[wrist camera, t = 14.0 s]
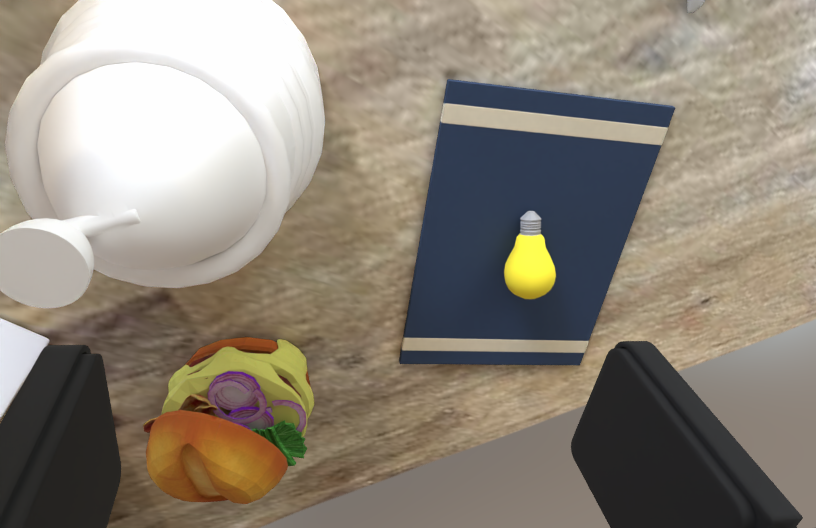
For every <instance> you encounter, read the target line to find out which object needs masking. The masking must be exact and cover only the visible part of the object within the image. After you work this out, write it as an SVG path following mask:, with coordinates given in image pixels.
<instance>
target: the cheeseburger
mask: <svg viewBox="0 0 816 528" xmlns="http://www.w3.org/2000/svg"><path fill="white" fill-rule="evenodd" d="M168 390H169V394H168V396H167V398H166V400H165V402H164V406H163V409H162V415H161V416H159V417H157V418H153V419H150V420H149V421H147V422H146V423H145V424H144V425H143V427H144V432H147V433H149V432H150V437H149V441H148V445H147V450H146V458H147V469H148V472H149V475H150V478H151V479H152V480H153V481H154V483H155V484H156V485H157V486H158V487H159V488H160V489H161V490H162V491H163V492H165V493H167V494H169V495H171V496H172V497H174V498H177V499H180V500H183V501H189V502H214V501H224V500H230V501H232V502H233V503H240V504H248V503H251V502H253V501H256V500H258V499H260V498H262V497H263V496H264V495H266V494H267V493H268V492H269V491H270V490H271V489H273V488H274V487H275V486H276V485H277V484H278V483H279V481H280V480H281V478H282V477H283V475H284V474H285V472H286V470H287V467H288V466H294V465H295V464H296V462H295V461H294V459H293V458H292V456H293V457H299V458H304V454H305V452H306V450H307V447H306V446H305V445H304V444H303V443H304V441H305V438H303V437H304V435H305V432H306V429H307V419H308V417H309V416H310V414H311V412H312V409H313V406H314V397H313V392H312V390H311V387H310V382H309V376H308V372H307V363H306V358H305V356H304V355H303V354H302V353H301V351H300V350H299V349H298V348H297V347H295V346H294V345H292V344H291V343H289V342H288V341H286V340H282V339H278V340H277V343H276V342H275V341H273V340H266V339H258V338H250V337H243V338H234V339H226V340H220V341H217V342H215V343H212V344H209V345H207V346H204V347H202V348H200V349H199V350H198V351H197V352H196V353H195V354H194V355H193V356H192V358H191V359H190V360H189V361H188V362H187V363H186V364H185V366H183V367H182V368H181V369H180V370H178V371H176V372H175V373H174V375H173V376H172V377H171V379H170V380H169V384H168Z"/></svg>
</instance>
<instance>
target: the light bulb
mask: <svg viewBox="0 0 816 528" xmlns="http://www.w3.org/2000/svg"><path fill="white" fill-rule="evenodd" d="M520 220H521V222H520V223H521V224H520V225H521V226H520V228H521V229H520V232H521V233H520V234H519V235H518V236H517V237H516V242H515V246H514V248H513V250H512V252H511V253H510V255H509V257H508V259H507V261H506V263H505V269H504V276H505V283H506V285H507V287H508V289H509V290H510V291H511V292H512V293H513V294H514V295H517V296H519V297H521V298H524V299H535V298H538V297H541V296H543V295H545V294H546V293H547V292H549V291H550V290H551V288H552V286H553V285H554V282H555V278H556V272H555V266H554V264H553V262H552V259H551V257H550V255H549V253H548V251H547V249H546V246H545V239H544V237H543V236H542V235H541V229H540V228H541V224H540V223H541V218H540V217H539V216H538V215H537V214H536V213H535V211H527V212H526V213H525V214H524V215H523V216H522V217H521V218H520Z"/></svg>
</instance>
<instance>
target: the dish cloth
mask: <svg viewBox="0 0 816 528" xmlns="http://www.w3.org/2000/svg"><path fill="white" fill-rule="evenodd" d="M674 110H675V107H673V106H668V105H659V104H651V103H643V102H634V101H626V100H618V99H609V98H601V97H593V96H584V95H576V94H568V93H559V92H551V91H543V90H534V89H526V88H517V87H509V86H501V85H492V84H484V83H476V82H467V81H459V80H451V79H448V80H447V85H446V91H445V96H444V102H443V108H442V114H441V120H440V126H439V131H438V137H437V143H436V149H435V155H434V160H433V166H432V172H431V178H430V184H429V190H428V195H427V201H426V207H425V213H424V219H423V224H422V230H421V236H420V242H419V248H418V254H417V259H416V265H415V271H414V277H413V283H412V288H411V294H410V300H409V306H408V312H407V318H406V323H405V329H404V335H403V341H402V347H401V352H400V358H399V362H400V364H485V365H580V363H581V361H582V358H583V355H584V353H585V350H586V348H587V345H588V342H589V339H590V336H591V334H592V331H593V328H594V326H595V323H596V320H597V317H598V315H599V312H600V309H601V307H602V304H603V301H604V299H605V296H606V293H607V291H608V288H609V285H610V282H611V280H612V277H613V274H614V272H615V269H616V266H617V264H618V261H619V258H620V255H621V253H622V250H623V247H624V245H625V242H626V239H627V237H628V234H629V231H630V229H631V226H632V223H633V220H634V218H635V215H636V212H637V210H638V207H639V204H640V202H641V199H642V196H643V194H644V191H645V188H646V185H647V183H648V180H649V177H650V175H651V172H652V169H653V167H654V164H655V161H656V159H657V156H658V153H659V150H660V148H661V145H662V143H663V140H664V137H665V135H666V132H667V129H668V126H669V123H670V121H671V118H672V115H673V113H674ZM527 211H535V213H536V214H537V215H538V216H539V217H540V218H541V223H540V224H541V228H540V229H541V235H542V236H543V237H544V239H545V246H546V249H547V251H548V253H549V255H550V257H551V259H552V262H553V264H554V266H555V272H556V278H555V282H554V285H553V286H552V288H551V290H550V291H549V292H547V293H546V294H545V295H543V296H541V297H538V298H535V299H524V298H521V297H519V296H517V295H514V294H513V293H512V292H511V291H510V290H509V289H508V287H507V285H506V283H505V276H504V269H505V263H506V261H507V259H508V257H509V255H510V253H511V252H512V250H513V248H514V246H515V242H516V237H517V236H518V235H519V234H520V233H521V232H520V229H521V228H520V226H521V225H520V224H521V223H520V222H521V220H520V218H521V217H522V216H523V215H524V214H525V213H526V212H527Z"/></svg>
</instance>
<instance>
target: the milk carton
mask: <svg viewBox="0 0 816 528" xmlns="http://www.w3.org/2000/svg"><path fill="white" fill-rule="evenodd" d="M49 342H50V341H49V339H48V338H46V337H43V336H41V335H39V334H36V333H34V332H32V331H29V330H27V329H25V328H22V327H20V326H18V325H15V324H13V323H10V322H8V321H6V320H3V319H1V318H0V420H1V418H2V416H3V415H4V413H5V412H6V410H7V409H8V407H9V405H10V404H11V402H12V401H13V399H14V398H15V396H16V394H17V393H18V391H19V390H20V388H21V386H22V385H23V383H24V381H25V379H26V378H27V376H28V374H29V372H30V371H31V369H32V367H33V365H34V364H35V362H36V360H37V358H38V356H39V355H40V353H41V351H42V350H43V349H44V347H46V346H48V344H49Z"/></svg>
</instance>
